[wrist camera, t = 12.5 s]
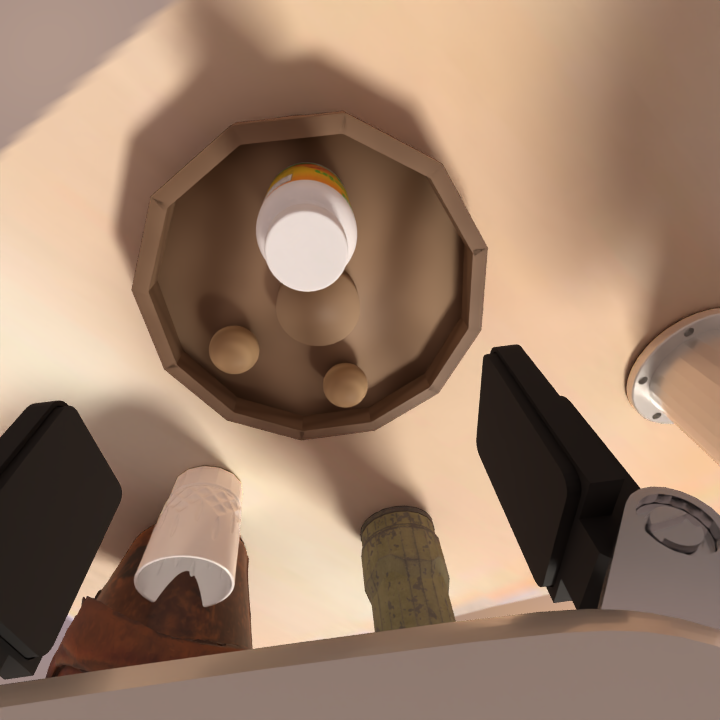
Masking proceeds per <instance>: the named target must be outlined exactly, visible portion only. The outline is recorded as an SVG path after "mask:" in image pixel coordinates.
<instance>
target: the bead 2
mask: <svg viewBox="0 0 720 720" xmlns="http://www.w3.org/2000/svg"><path fill="white" fill-rule="evenodd" d="M367 388H368V382H367V378H366V375H365V374H364V372H363V371H362V370H361V369H360V368H359V367H358V366H356V365H354V364H351V363H340V364H337V365H335V366H333V367H332V368H331V369H329V371H328V372H327V373H326V375H325V377H324V381H323V390H324V393H325V395H326V397H327V399H328V400H329V401H330V402H331V403H333V404H334V405H336V406H339V407H343V408H347V407H352V406H355V405H357V404H358V403H360V402H361V401H362V400H363V398H364V397H365V395H366V393H367Z"/></svg>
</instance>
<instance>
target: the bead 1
mask: <svg viewBox="0 0 720 720" xmlns="http://www.w3.org/2000/svg"><path fill="white" fill-rule="evenodd" d="M259 351H260V349H259V343H258V340H257V338H256V337H255V335H254V334H253V333H252V332H251V331H249V330H248V329H246V328H244V327H241V326H227V327H224V328H222V329H220V330H219V331H218V332H216V333H215V335H214V336H213V337H212V339H211V341H210V345H209V355H210V358H211V360H212V362H213V364H214V365H215V366H216V367H217V368H218V369H220V370H221V371H223V372H225V373H229V374H240V373H243V372H246V371H248V370H249V369H250V368H252V367H253V366H254V364H255V363H256V361H257V359H258V357H259Z"/></svg>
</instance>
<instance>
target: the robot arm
mask: <svg viewBox="0 0 720 720" xmlns="http://www.w3.org/2000/svg"><path fill="white" fill-rule="evenodd" d="M626 389H627V397H628V400H629V402H630V404H631V406H632V407H633V408H634V409H635V410H636V411H637V412H638V413H639V414H640V415H641V416H642V417H644V418H645V419H647V420H649V421H652V422H656V423H661V424H675V425H677V426H678V427H679V428H680V429H681V430H682V431H683V432H684V433H685V434H686V435H687V436H688V437H689V438H690V439H691V440H692V441H694V442H695V443H696V444H697V445H698V446H699V447H700V448H701V449H702V450H703V451H704V452H705V453H706V454H707V455H708V456H710V457H711V458H712V459H713V460H714V461H715V462H716V463H717V464H718V465H719V466H720V308H716V309H710V310H706V311H703V312H699V313H696V314H694V315H691V316H689V317H687V318H685V319H682V320H681V321H679V322H677V323H676V324H674V325H672V326H670V327H669V328H667V329H666V330H665V331H664V332H662V333H661V334H660V335H658V336H657V337H656V338H655V339H654V340H653V341H652V342H651V343H650V344H649V345H648V346H647V347H646V348H645V349H644V350H643V352H642V353H641V354H640V355H639V357H638V358H637V360H636V362H635V363H634V365H633V367H632V369H631V372H630V374H629V377H628V381H627V388H626ZM476 443H477V450H478V453H479V456H480V458H481V460H482V463H483V465H484V467H485V469H486V472H487V474H488V476H489V478H490V481H491V483H492V485H493V487H494V490H495V492H496V494H497V496H498V499H499V501H500V503H501V505H502V508H503V510H504V512H505V514H506V517H507V519H508V521H509V523H510V526H511V528H512V530H513V532H514V535H515V537H516V539H517V542H518V544H519V546H520V548H521V551H522V553H523V555H524V557H525V560H526V562H527V564H528V566H529V569H530V571H531V573H532V575H533V578H534V580H535V582H536V583H537V585H538V586H540V587H545V586H546V587H547V590H548V592H549V594H550V596H551V598H552V600H553V603H557V602H564V601H573V603H574V605H575V607H576V609H577V610H563V611H548V612H536V613H527V614H518V615H509V616H502V617H493V618H485V619H475V620H467V621H458V622H449V623H441V624H434V625H426V626H419V627H412V628H404V629H397V630H389V631H382V632H374V633H367V634H359V635H352V636H344V637H337V638H330V639H322V640H315V641H307V642H300V643H293V644H286V645H278V646H271V647H264V648H257V649H249V650H242V651H235V652H228V653H221V654H213V655H206V656H199V657H192V658H185V659H178V660H171V661H164V662H156V663H149V664H142V665H135V666H128V667H121V668H114V669H107V670H100V671H93V672H86V673H79V674H73V675H66V676H59V677H52V678H45V679H38V680H32V681H24V682H18V683H11V684H4V685H0V720H720V515H719V514H717V513H716V512H715V511H714V510H713V509H712V508H711V507H709V506H708V505H706V504H705V503H703V502H702V501H700V500H699V499H697V498H695V497H693V496H690V495H688V494H686V493H684V492H681V491H678V490H674V489H670V488H666V487H647V488H642V489H640V487H639V486H638V485H637V484H636V482H635V481H634V480H633V479H632V477H631V476H630V475H629V474H628V472H627V471H626V470H625V469H624V467H623V466H622V465H621V464H620V462H619V461H618V460H617V459H616V458H615V456H614V455H613V454H612V453H611V451H610V450H609V449H608V448H607V446H606V445H605V444H604V443H603V441H602V440H601V439H600V438H599V436H598V435H597V434H596V433H595V431H594V430H593V429H592V428H591V427H590V425H589V424H588V423H587V422H586V420H585V419H584V418H583V417H582V415H581V414H580V413H579V412H578V410H577V409H576V408H575V407H574V405H573V404H572V403H571V402H570V401H569V400H568V399H567V398H566V397H563V396H559V394H558V393H557V392H556V390H555V389H554V388H553V387H552V385H551V384H550V383H549V382H548V380H547V379H546V378H545V377H544V375H543V374H542V373H541V371H540V370H539V369H538V368H537V366H536V365H535V364H534V363H533V361H532V360H531V359H530V357H529V356H528V355H527V354H526V352H525V351H524V350H523V349H522V347H521V346H520V345H517V344H516V345H508V346H500V347H493V348H492V350H491V353H490V354H486V355H484V357H483V366H482V378H481V390H480V402H479V414H478V426H477V438H476ZM121 497H122V490H121V486H120V484H119V482H118V480H117V479H116V477H115V475H114V474H113V472H112V470H111V468H110V467H109V465H108V463H107V462H106V460H105V458H104V456H103V455H102V453H101V451H100V450H99V448H98V446H97V444H96V443H95V441H94V439H93V438H92V436H91V434H90V432H89V431H88V429H87V427H86V426H85V424H84V422H83V420H82V419H81V417H80V415H79V414H78V412H77V410H76V409H75V408H74V407H72V406H68V405H67V403H65V402H64V401H51V402H43V403H35V404H31V405H30V406H28V407H27V408H26V409H25V410H24V411H23V413H22V414H21V415H20V416H19V417H18V418H17V419H16V420H15V422H14V423H13V424H12V425H11V426H10V427H9V428H8V429H7V431H6V432H5V433H4V434H3V435H2V436H1V437H0V676H1V677H2V678H3V679H12V678H18V677H26V676H33V675H34V673H35V671H36V669H37V667H38V665H39V663H40V661H41V658H42V656H44V655H45V654H47V653H48V652H49V651H50V650H51V648H52V646H53V645H54V643H55V641H56V638H57V636H58V634H59V632H60V630H61V628H62V625H63V623H64V621H65V619H66V617H67V615H68V613H69V611H70V608H71V606H72V604H73V602H74V600H75V598H76V596H77V593H78V591H79V589H80V587H81V585H82V583H83V581H84V578H85V576H86V574H87V572H88V570H89V568H90V566H91V563H92V561H93V559H94V557H95V555H96V553H97V551H98V548H99V546H100V544H101V542H102V540H103V538H104V536H105V533H106V531H107V529H108V527H109V525H110V523H111V521H112V518H113V516H114V514H115V512H116V510H117V508H118V506H119V503H120V501H121Z"/></svg>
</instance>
